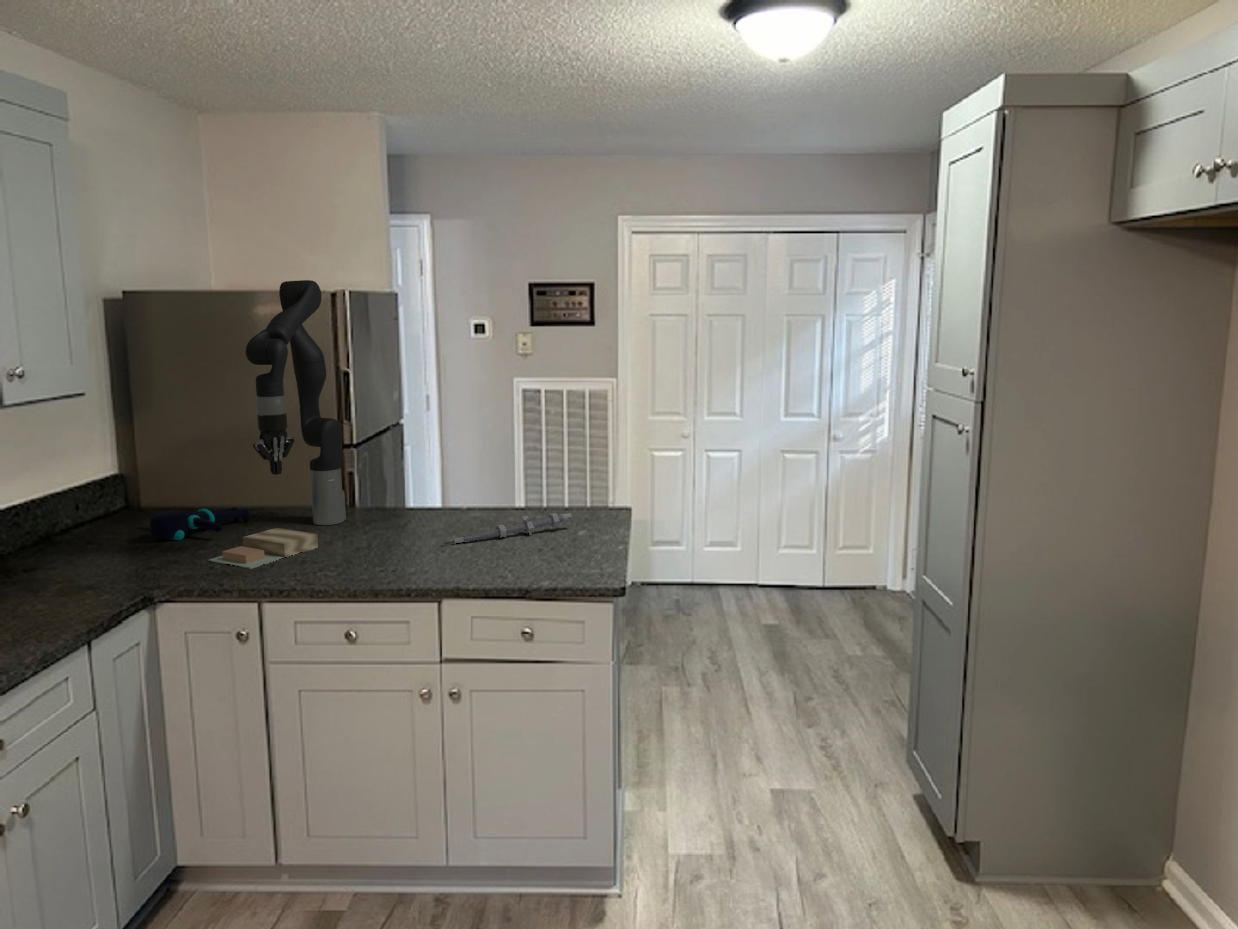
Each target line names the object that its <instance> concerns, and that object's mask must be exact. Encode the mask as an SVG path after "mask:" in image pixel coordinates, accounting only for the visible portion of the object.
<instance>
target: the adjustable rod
mask: <svg viewBox="0 0 1238 929" xmlns="http://www.w3.org/2000/svg"><path fill="white" fill-rule="evenodd" d="M522 519H523V521H522V523H517V524H514V525H513V524H511V525H508V526H505V525H504V524H498V525H495V528H493V529H489V530H485V531H484V530H483V531H480V532H476V533H471V534H466V535H462V536H461V537H457V538H453V540H452V541H448V542H444V543H443V542H441V544H442V545H443V544H445V545H449V544H454V543H459V542H466V543H467V542H468V541H473V540H474V541H473V542H476V541H475V540H477V541H480V540H481V541H483V540H487V539H491V538H496V537H498V536H499V537H505V538H506V537H507V535H510V534H514V533H519V532H526V534H528V533H529V532H533V533H534V532H535V531H534V530H535V529H538V528H541V527H548V526H551V528H557V527H558V528H559V526H560V523H565V522H570V521H571V522H572V520H573V515H572V513H570V512H568V513H561V514H559V515H558V514H557V513H556V512H554V513H550V514H549V515H548V516H547V517H544V518H540V519H536V520H532V519H533V518H532V517H529V516H528V515H524V516H522ZM499 537H498V538H499ZM441 544H440V545H441ZM442 545H441V546H442ZM443 546H444V545H443Z"/></svg>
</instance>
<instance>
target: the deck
mask: <svg viewBox="0 0 1238 929" xmlns="http://www.w3.org/2000/svg"><path fill="white" fill-rule="evenodd" d="M318 536H319V535H318V533H313V532H306V531H302V530H301V531H300V530H294V529H293V530H292V529H288V528H280V527H275V528H271V529H268V530H267V529H266V530H263V531H260V532H256V533H253V534H249V535H246V536H245V535H244V536H242V541H243V543H242V544H243V547H249V548H254V549H260V550H264V554H268V555H274V556H280V557H284V559H285V557H287V558H290V557H292V556H291V555H293V556H296V555H295V554H297V555H299V554H298V553H300V552H303V553H306V552H309V551H311V550H312V551H313V550H315V548H316V549H318V548H319V541H318V540H319V539H318V538H319V537H318ZM300 554H301V553H300ZM289 556H290V557H289Z"/></svg>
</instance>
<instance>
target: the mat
mask: <svg viewBox="0 0 1238 929" xmlns="http://www.w3.org/2000/svg"><path fill="white" fill-rule="evenodd" d="M281 558H284V557H280V556H274V555H268V554H264V558H263V559H260V560H257V561H253V562H250V563H247V564H245V563H240V562H235V561H229V560H224V559H223V555H219V556H216V557H214V558H210V559H209V558H208V562H210V561H211V563H216V564H217V563H218V564H221V565H226V564H230V565H229V566H232V565H235V566H234V567H237V566H239V567H238V568H243V569H248V570H249V569H250V570H252V569H254V568H258V567H261V565H262V566H264V565H263V564H265V565H268V564H271V563H273V561H274V562H277V561H280V560H279V559H281ZM284 559H285V558H284ZM276 560H277V561H276ZM281 560H282V559H281ZM270 562H271V563H270Z"/></svg>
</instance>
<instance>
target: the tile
mask: <svg viewBox="0 0 1238 929" xmlns="http://www.w3.org/2000/svg"><path fill="white" fill-rule="evenodd" d="M221 554H222V556H223V559H224V560H229V561H235V562H240V563H245V564H247V563H250V562H253V561H257V560H260V559H263V558H264V550H260V549H254V548H249V547H244V546H242V545H240V546H236V547H233V548H230V549H229V548H228V549H225V550H222V552H221Z"/></svg>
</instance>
